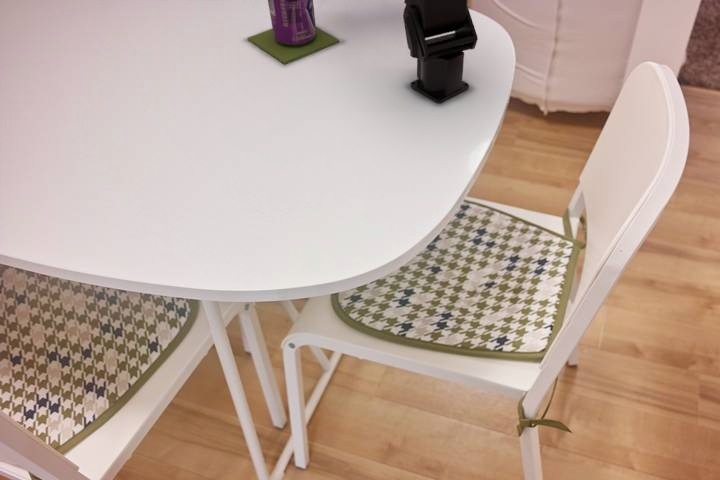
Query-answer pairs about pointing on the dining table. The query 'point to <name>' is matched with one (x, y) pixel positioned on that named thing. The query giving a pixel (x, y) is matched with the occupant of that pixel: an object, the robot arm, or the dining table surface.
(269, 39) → the mat
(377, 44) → the dining table surface
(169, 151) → the dining table surface
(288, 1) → the beverage can
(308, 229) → the dining table surface
